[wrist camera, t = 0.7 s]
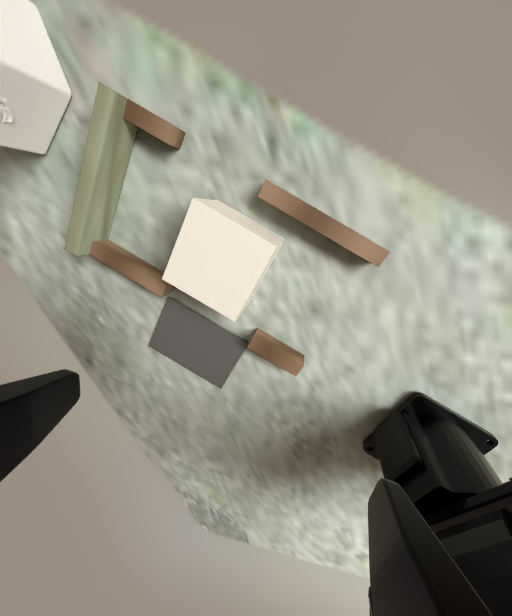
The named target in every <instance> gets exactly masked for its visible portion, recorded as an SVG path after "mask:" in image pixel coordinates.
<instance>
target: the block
mask: <svg viewBox="0 0 512 616" xmlns="http://www.w3.org/2000/svg"><path fill="white" fill-rule="evenodd" d="M284 240H285V239H284V238H282V237H280V236H279V235H277V234H275V233H273V232H272V231H270V230H268V229H266V228H265V227H263V226H261V225H260V224H258V223H256V222H254V221H253V220H251V219H249V218H247V217H246V216H244V215H242V214H241V213H239V212H237V211H235V210H234V209H232V208H230V207H228V206H227V205H225V204H223V203H222V202H220V201H218V200H209V199H199V198H193V199H192V201H191V204H190V207H189V209H188V212H187V215H186V217H185V220H184V222H183V225H182V228H181V230H180V233H179V236H178V238H177V241H176V243H175V246H174V249H173V251H172V254H171V256H170V259H169V262H168V264H167V267H166V270H165V272H164V275H163V277H162V279H163V280H164V281H166V282H168V283H169V284H171V285H173V286H175V287H176V288H178V289H180V290H181V291H183V292H185V293H187V294H188V295H190V296H192V297H193V298H195V299H197V300H199V301H200V302H202V303H204V304H205V305H207V306H209V307H210V308H212V309H214V310H216V311H217V312H219V313H221V314H222V315H224V316H226V317H228V318H229V319H231V320H233V321H234V322H235V321H236V320H237V318H238V317H239V316H240V314H241V313H242V312H243V310H244V309H245V307H246V306H247V305H248V303H249V302H250V300H251V299H252V297H253V295H254V293H255V291H256V290H257V288H258V286H259V284H260V282H261V281H262V279H263V277H264V275H265V274H266V272H267V270H268V268H269V266H270V265H271V263H272V261H273V259H274V257H275V256H276V254H277V252H278V250H279V248H280V247H281V245H282V243H283V241H284Z"/></svg>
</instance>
